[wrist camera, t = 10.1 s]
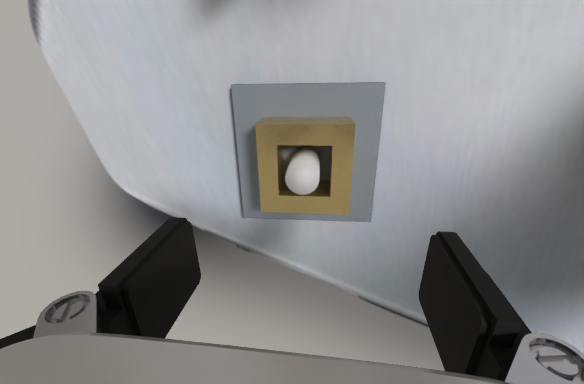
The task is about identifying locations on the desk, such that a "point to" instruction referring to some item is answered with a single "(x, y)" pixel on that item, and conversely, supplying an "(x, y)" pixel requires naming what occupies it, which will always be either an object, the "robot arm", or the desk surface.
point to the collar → (305, 132)
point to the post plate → (308, 158)
